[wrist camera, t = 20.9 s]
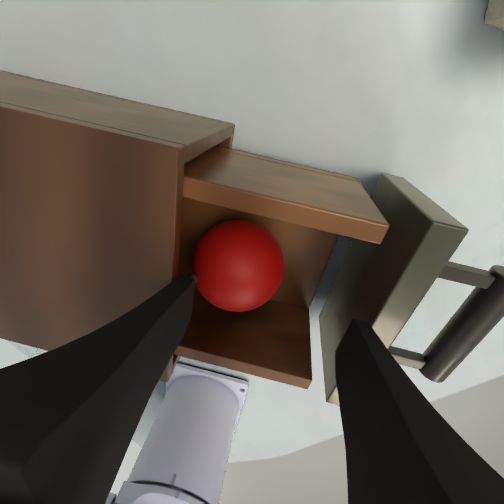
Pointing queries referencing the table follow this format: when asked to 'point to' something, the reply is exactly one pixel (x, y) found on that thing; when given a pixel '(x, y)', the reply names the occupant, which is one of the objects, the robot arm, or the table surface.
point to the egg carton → (495, 14)
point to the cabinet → (88, 206)
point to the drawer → (314, 263)
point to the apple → (237, 265)
